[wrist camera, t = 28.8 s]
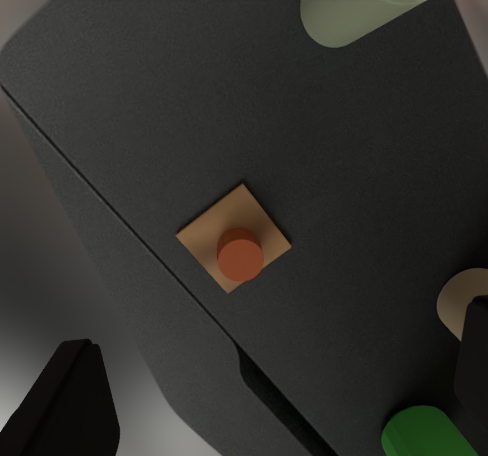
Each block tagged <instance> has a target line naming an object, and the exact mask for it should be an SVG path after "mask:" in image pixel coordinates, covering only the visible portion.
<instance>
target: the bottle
mask: <svg viewBox="0 0 488 456" xmlns="http://www.w3.org/2000/svg"><path fill="white" fill-rule="evenodd" d="M381 441H382V446H383V449H384V451H385V453H386V455H387V456H479V455H478V454H477V453H476V452H475V450H474V449H473V448H472V447H471V445H470V444H469V443H468V442H467V440H466V439H465V438H464V437H463V435H462V434H461V433H460V432H459V430H458V429H457V428H456V427H455V425H454V424H453V423H452V422H451V420H450V419H449V418H448V417H447V415H446V414H445V413H444V412H443V411H441V410H440V409H438V408H436V407H432V406H425V405H418V406H411V407H407V408H405V409H402V410H400V411H398V412H397V413H396V414H395V415H393V416H392V417H391V418H390V420H389V421H388V423H387V424H386V426H385V428H384V430H383V434H382V438H381Z"/></svg>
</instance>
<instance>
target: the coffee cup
mask: <svg viewBox="0 0 488 456" xmlns="http://www.w3.org/2000/svg"><path fill="white" fill-rule="evenodd" d="M479 295H488V269H483V268H473V269H468V270H465V271H462V272H460V273H458V274H457V275H455V276H454V277H452V278H451V279H450V280H449V281H448V282H447V283H446V284H445V285H444V287H443V289H442V290H441V292H440V294H439V296H438V300H437V312H438V315H439V317H440V319H441V320H442V322H443V323H444V324H445V325H446V326H447V327H448V328H449V330H450V331H451V332H452V333H453V334H454V335H455V336H456V337H457V338H458V339H459V340H460V341H461V337H462V332H463V326H464V320H465V314H466V308H467V305H468V304H469V303H471V301H472V299H473V298H474V297H476V296H479Z"/></svg>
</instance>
